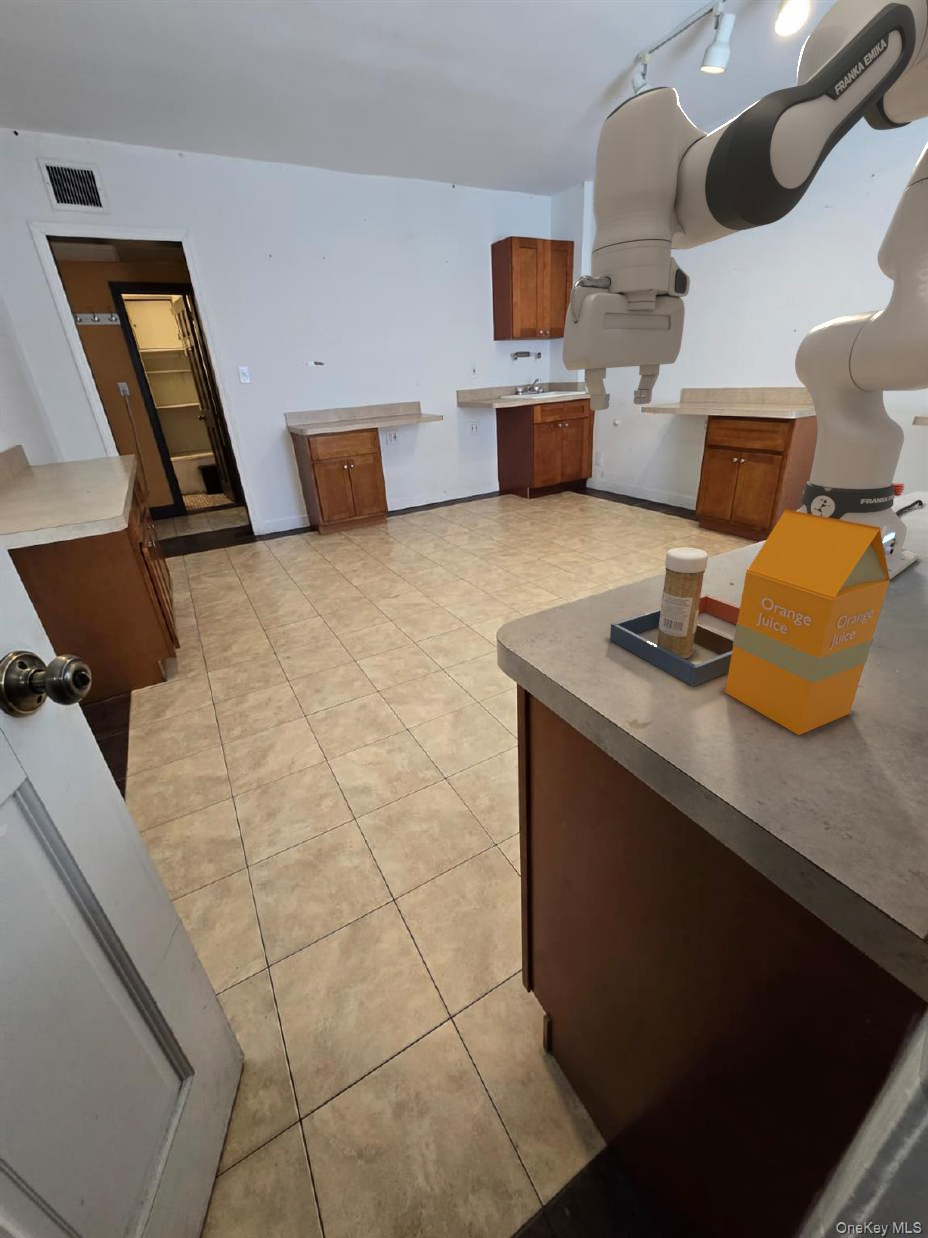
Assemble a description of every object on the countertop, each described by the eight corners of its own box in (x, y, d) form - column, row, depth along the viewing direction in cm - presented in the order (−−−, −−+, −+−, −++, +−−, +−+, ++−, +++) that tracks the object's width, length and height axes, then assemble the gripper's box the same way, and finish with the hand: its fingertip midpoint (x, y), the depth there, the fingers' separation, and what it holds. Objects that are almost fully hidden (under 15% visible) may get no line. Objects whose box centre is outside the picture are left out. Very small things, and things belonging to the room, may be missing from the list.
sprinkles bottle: (700, 653, 65) (717, 552, 59) (676, 664, 63) (691, 560, 57) (670, 640, 69) (683, 543, 63) (647, 650, 67) (658, 550, 61)
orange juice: (798, 736, 50) (850, 535, 41) (723, 692, 57) (754, 514, 49) (851, 713, 52) (910, 520, 44) (773, 674, 60) (810, 502, 51)
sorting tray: (703, 609, 77) (705, 594, 76) (794, 646, 65) (798, 628, 64) (609, 640, 70) (610, 623, 69) (693, 687, 58) (695, 668, 57)
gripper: (597, 267, 52) (592, 413, 58) (697, 279, 64) (684, 400, 69) (549, 279, 56) (549, 414, 62) (651, 288, 68) (643, 401, 74)
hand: (621, 406), depth 66 cm, fingers open, 8 cm apart
